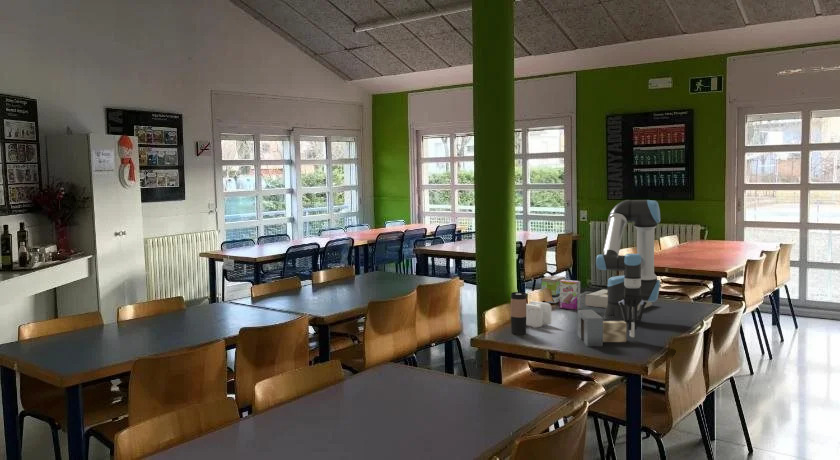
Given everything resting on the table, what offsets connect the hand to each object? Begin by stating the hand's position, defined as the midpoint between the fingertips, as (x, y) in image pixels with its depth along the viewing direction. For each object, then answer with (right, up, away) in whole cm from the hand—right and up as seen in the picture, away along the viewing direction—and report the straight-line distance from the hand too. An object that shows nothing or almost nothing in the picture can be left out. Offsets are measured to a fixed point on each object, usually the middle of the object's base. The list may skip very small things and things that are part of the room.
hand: (632, 336), depth 326 cm
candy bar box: (-12, +4, +78) cm, 79 cm away
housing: (-20, -2, 0) cm, 20 cm away
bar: (-12, -2, 0) cm, 13 cm away
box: (+18, +5, +86) cm, 88 cm away
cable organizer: (-40, 0, +35) cm, 53 cm away
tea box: (-17, +6, +103) cm, 105 cm away
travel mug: (-51, -1, +18) cm, 54 cm away
